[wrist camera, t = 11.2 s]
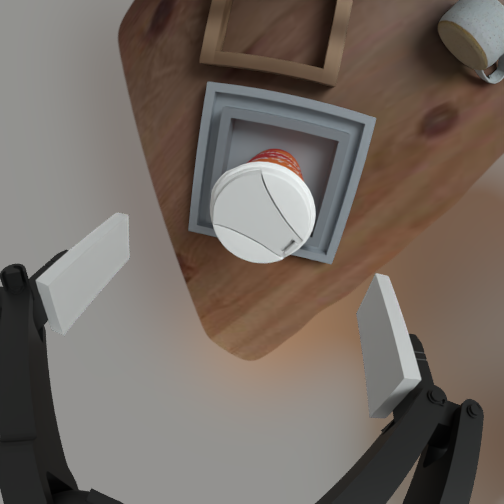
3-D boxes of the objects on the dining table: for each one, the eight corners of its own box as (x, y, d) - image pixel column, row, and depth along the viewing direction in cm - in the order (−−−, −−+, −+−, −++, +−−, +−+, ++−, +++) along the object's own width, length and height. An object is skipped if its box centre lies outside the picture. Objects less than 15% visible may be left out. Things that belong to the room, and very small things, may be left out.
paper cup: (324, 173, 32) (339, 222, 20) (276, 217, 35) (262, 287, 23) (272, 123, 30) (253, 139, 18) (226, 172, 33) (183, 220, 21)
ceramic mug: (423, 28, 22) (453, 15, 15) (455, -4, 18) (487, -18, 11) (480, 96, 24) (517, 102, 17) (508, 62, 20) (545, 63, 13)
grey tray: (211, 82, 29) (203, 80, 26) (372, 117, 28) (379, 119, 26) (192, 225, 38) (184, 235, 35) (330, 257, 37) (332, 270, 35)
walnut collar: (229, -37, 21) (223, -45, 19) (353, -18, 21) (357, -26, 18) (206, 65, 28) (199, 62, 26) (332, 87, 27) (335, 86, 25)
